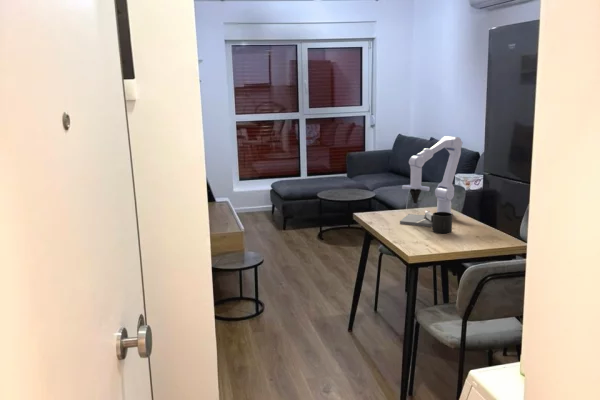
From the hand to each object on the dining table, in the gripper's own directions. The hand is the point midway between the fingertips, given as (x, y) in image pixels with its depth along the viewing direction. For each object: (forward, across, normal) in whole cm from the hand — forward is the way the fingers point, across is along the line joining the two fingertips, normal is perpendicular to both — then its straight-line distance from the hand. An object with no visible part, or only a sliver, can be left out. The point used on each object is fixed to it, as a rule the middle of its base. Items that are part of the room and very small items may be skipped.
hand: (415, 202), depth 293 cm
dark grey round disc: (+8, +7, -1) cm, 11 cm away
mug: (+10, +19, -19) cm, 29 cm away
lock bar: (+7, +9, -5) cm, 13 cm away
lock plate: (+9, +6, -3) cm, 11 cm away
